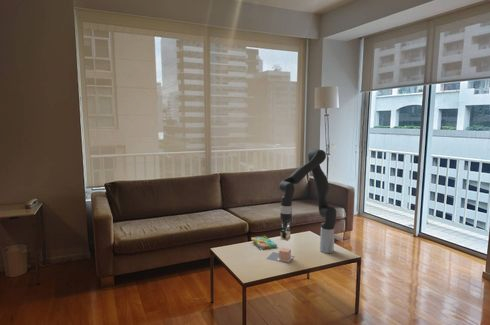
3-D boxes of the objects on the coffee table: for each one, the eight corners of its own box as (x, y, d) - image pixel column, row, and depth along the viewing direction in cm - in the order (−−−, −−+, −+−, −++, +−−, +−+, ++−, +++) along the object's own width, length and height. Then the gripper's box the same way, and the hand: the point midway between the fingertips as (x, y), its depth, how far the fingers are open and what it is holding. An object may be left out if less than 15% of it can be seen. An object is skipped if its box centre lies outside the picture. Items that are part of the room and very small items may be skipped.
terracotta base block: (290, 257, 218) (290, 249, 217) (287, 261, 213) (287, 252, 212) (282, 256, 221) (282, 247, 220) (279, 259, 215) (279, 250, 214)
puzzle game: (262, 245, 231) (251, 236, 250) (262, 252, 232) (251, 242, 250) (276, 243, 236) (264, 234, 254) (276, 249, 236) (264, 240, 255)
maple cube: (290, 238, 216) (290, 231, 215) (287, 240, 212) (287, 233, 211) (283, 237, 218) (283, 230, 218) (280, 239, 214) (280, 232, 213)
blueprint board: (295, 258, 220) (295, 256, 220) (288, 265, 209) (288, 263, 209) (273, 254, 227) (273, 251, 227) (265, 261, 216) (265, 258, 216)
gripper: (288, 215, 205) (287, 241, 207) (295, 210, 217) (294, 234, 220) (276, 213, 208) (276, 239, 210) (284, 208, 221) (283, 232, 223)
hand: (285, 236), depth 215 cm, fingers closed on maple cube, 5 cm apart
